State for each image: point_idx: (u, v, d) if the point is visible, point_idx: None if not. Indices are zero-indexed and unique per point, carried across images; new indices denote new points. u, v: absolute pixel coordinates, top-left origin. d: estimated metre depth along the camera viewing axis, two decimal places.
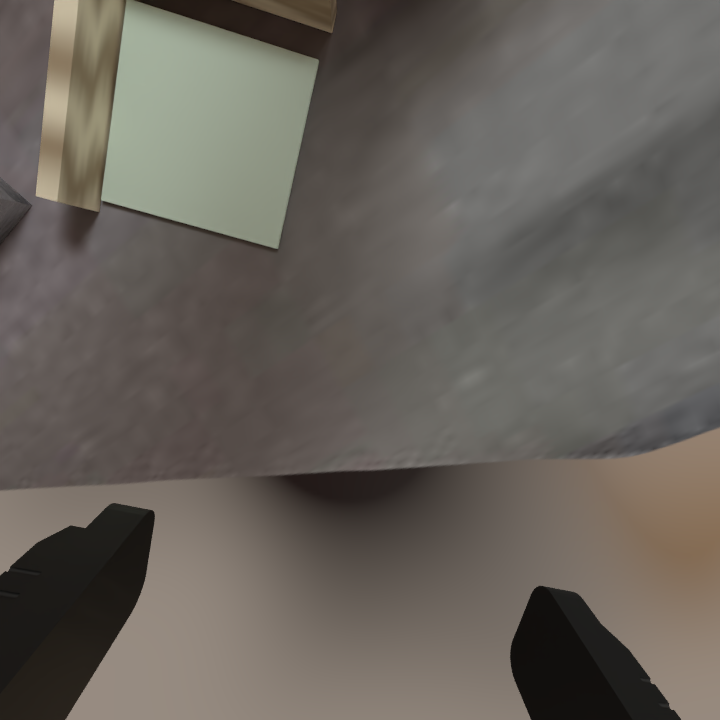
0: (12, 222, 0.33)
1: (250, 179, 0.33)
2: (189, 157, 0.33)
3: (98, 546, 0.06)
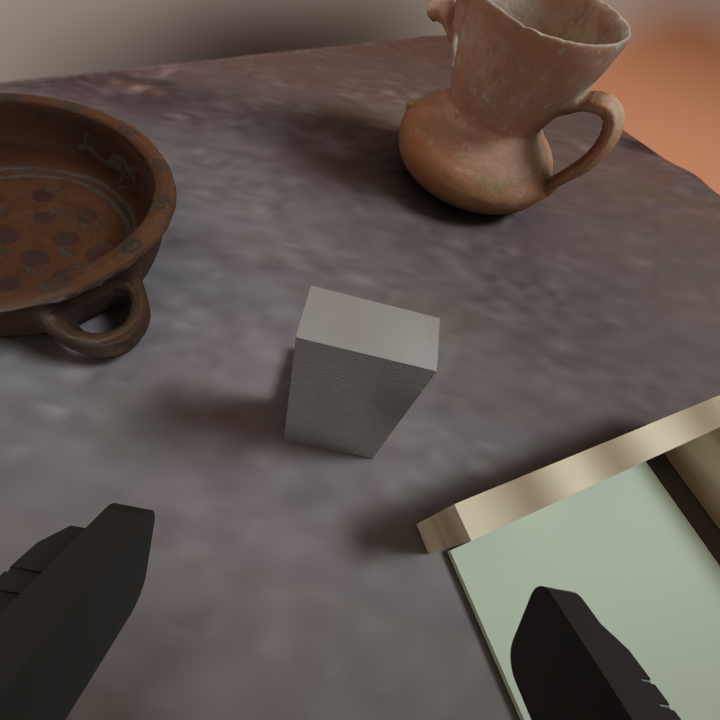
0: (337, 448, 0.21)
1: None
2: None
3: (98, 546, 0.06)
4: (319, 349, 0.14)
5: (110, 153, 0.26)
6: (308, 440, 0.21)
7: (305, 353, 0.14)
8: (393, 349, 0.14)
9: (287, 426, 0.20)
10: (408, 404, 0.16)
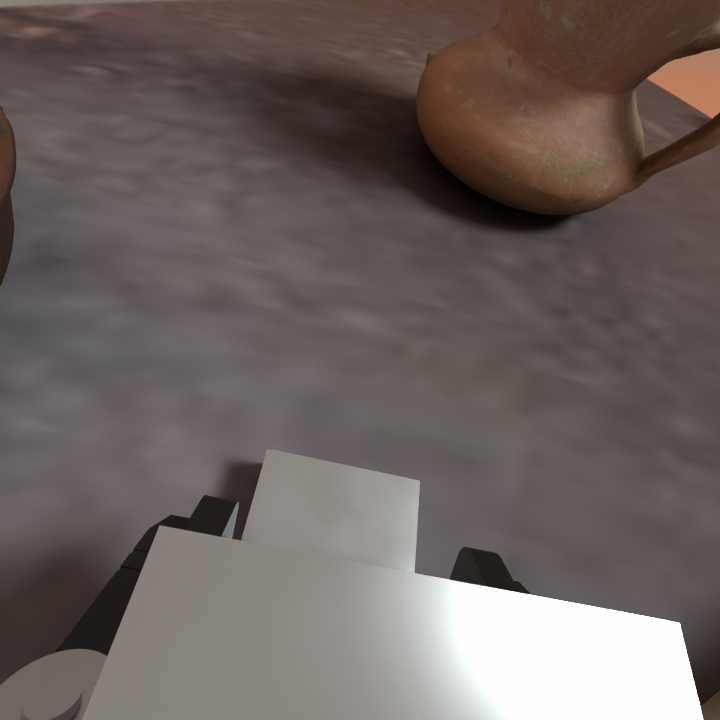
0: None
1: None
2: None
3: (206, 531, 0.07)
4: None
5: None
6: None
7: None
8: None
9: None
10: None
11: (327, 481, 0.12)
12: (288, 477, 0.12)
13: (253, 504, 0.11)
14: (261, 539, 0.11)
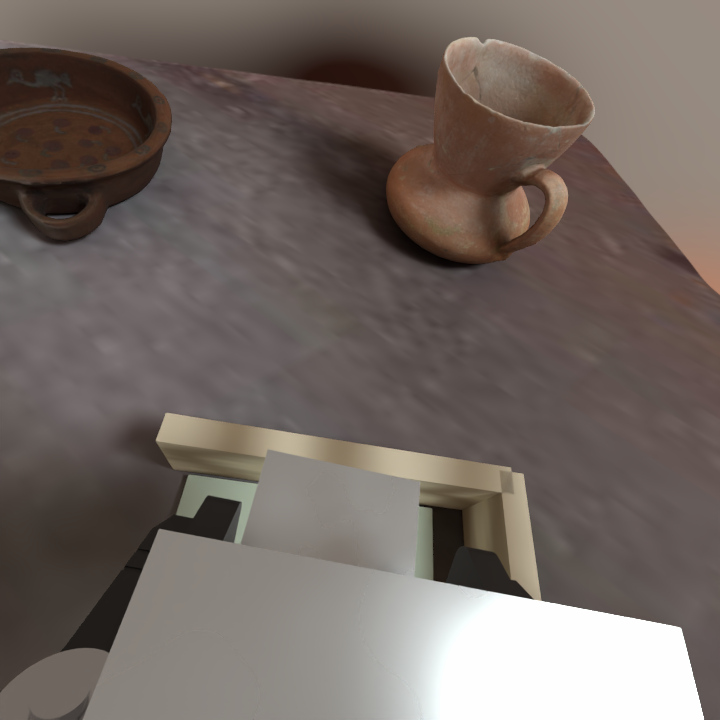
0: None
1: None
2: None
3: (209, 531, 0.07)
4: None
5: (146, 113, 0.35)
6: None
7: None
8: None
9: None
10: None
11: (327, 482, 0.12)
12: (288, 478, 0.12)
13: (253, 505, 0.11)
14: (261, 540, 0.11)
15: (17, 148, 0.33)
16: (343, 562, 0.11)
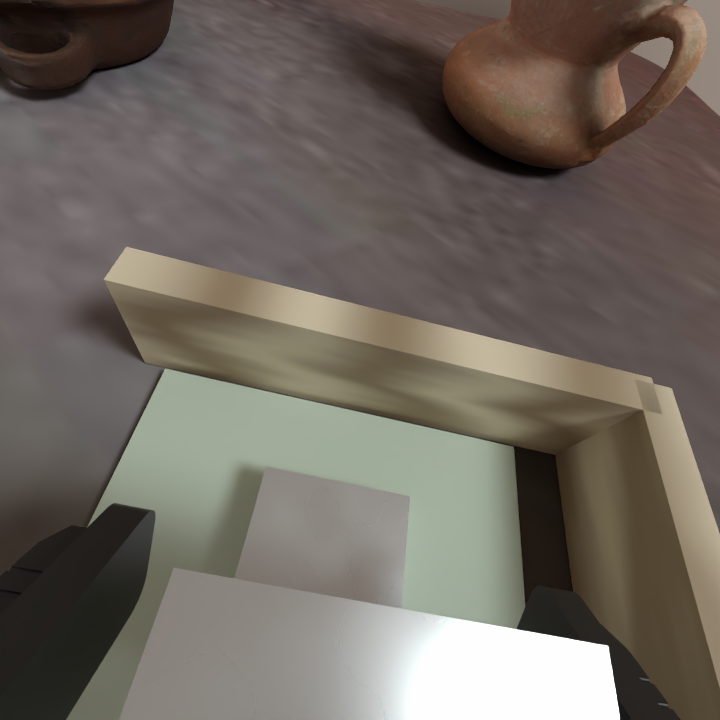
0: None
1: None
2: None
3: (99, 546, 0.06)
4: None
5: None
6: None
7: None
8: None
9: None
10: None
11: (322, 497, 0.13)
12: (285, 493, 0.13)
13: (252, 520, 0.12)
14: (260, 553, 0.12)
15: None
16: (337, 574, 0.12)
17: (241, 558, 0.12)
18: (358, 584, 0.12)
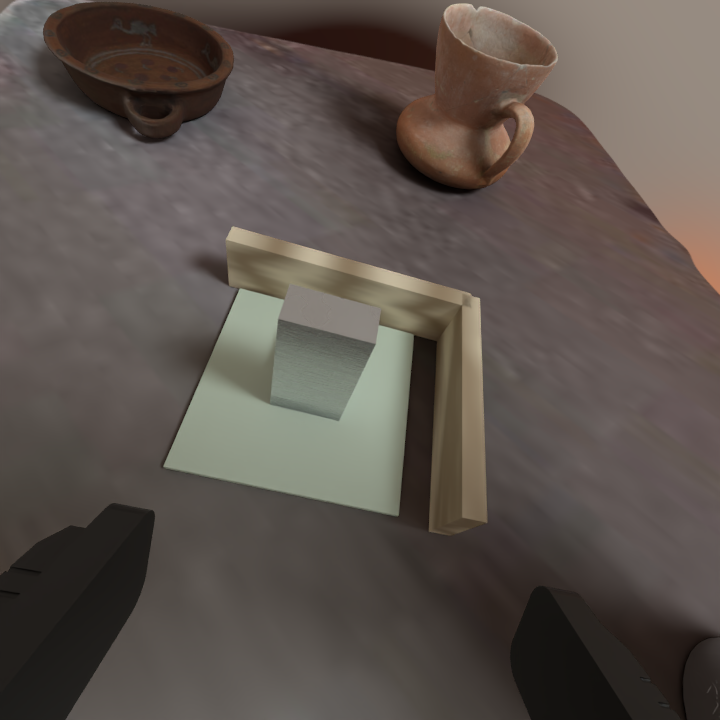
0: (312, 411, 0.28)
1: (259, 433, 0.26)
2: None
3: (98, 546, 0.06)
4: (294, 328, 0.20)
5: (213, 57, 0.45)
6: (288, 405, 0.27)
7: (285, 330, 0.20)
8: (346, 328, 0.20)
9: (272, 392, 0.26)
10: (360, 371, 0.22)
11: None
12: None
13: None
14: None
15: (116, 76, 0.43)
16: None
17: None
18: None
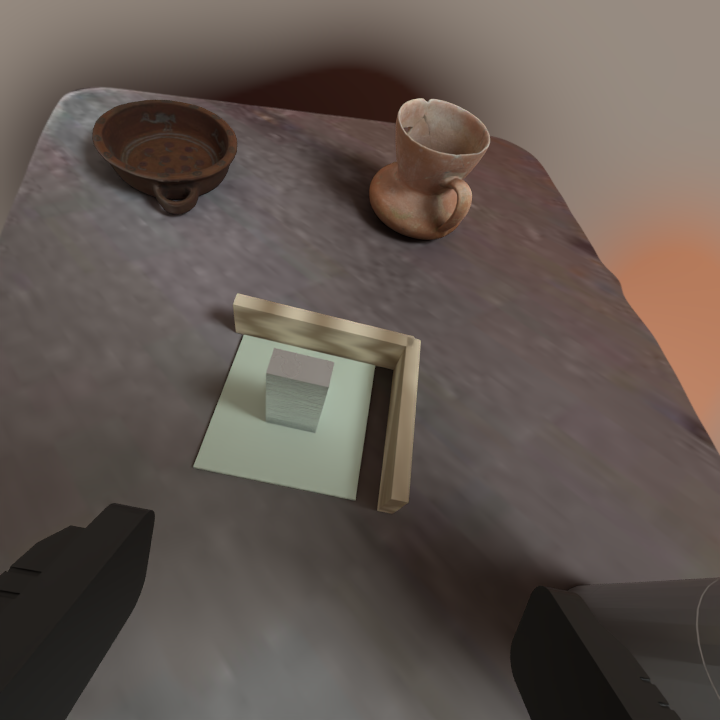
0: (295, 426, 0.39)
1: (258, 442, 0.38)
2: None
3: (98, 546, 0.06)
4: (277, 377, 0.31)
5: (221, 140, 0.56)
6: (278, 422, 0.39)
7: (271, 379, 0.31)
8: (310, 377, 0.31)
9: (266, 414, 0.37)
10: (322, 402, 0.33)
11: None
12: None
13: None
14: None
15: (145, 160, 0.55)
16: None
17: None
18: None
